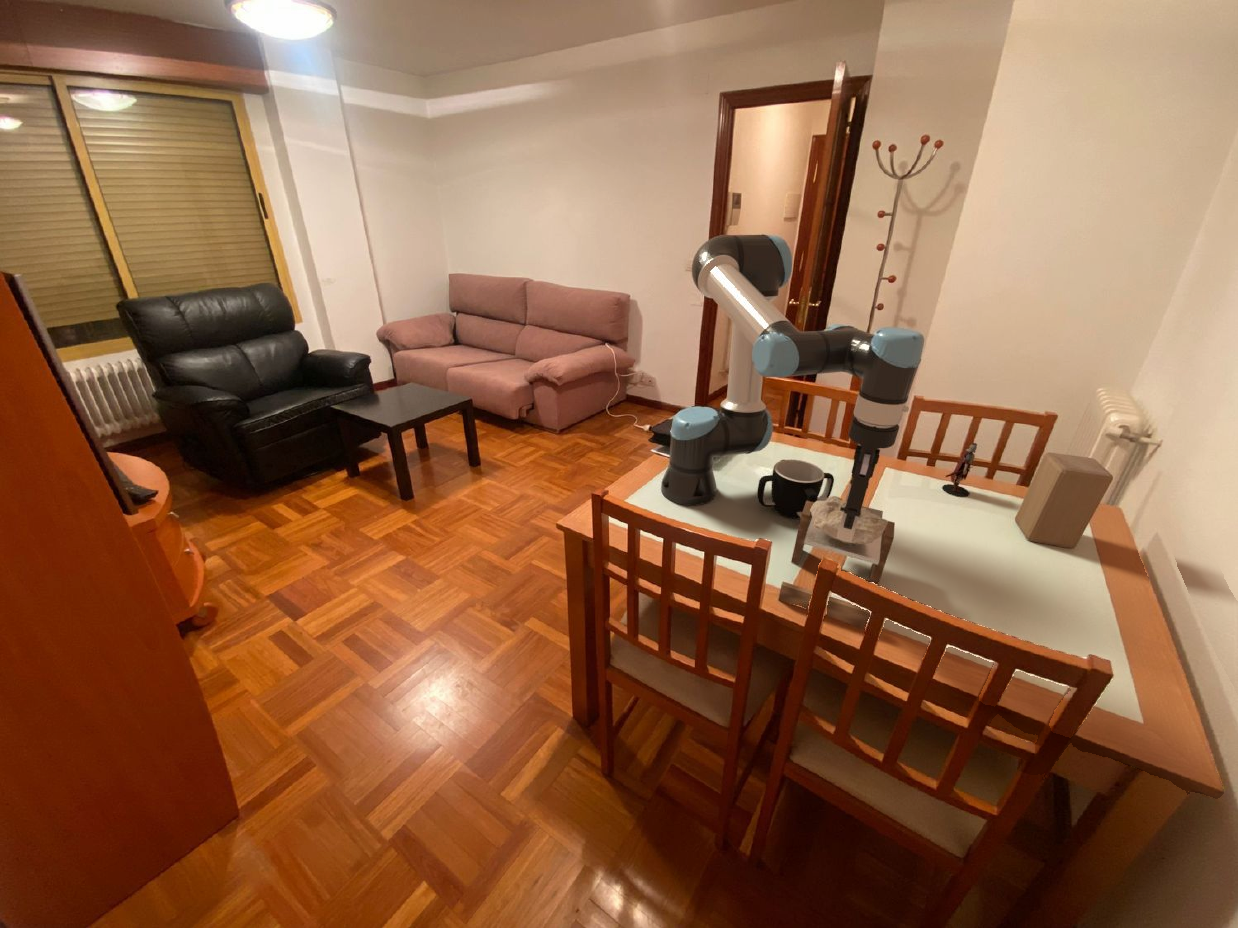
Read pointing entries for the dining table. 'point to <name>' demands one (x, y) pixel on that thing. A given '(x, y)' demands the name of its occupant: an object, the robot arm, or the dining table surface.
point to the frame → (835, 606)
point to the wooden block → (1062, 499)
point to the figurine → (961, 473)
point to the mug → (794, 487)
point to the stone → (830, 518)
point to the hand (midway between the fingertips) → (846, 527)
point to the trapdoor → (853, 550)
